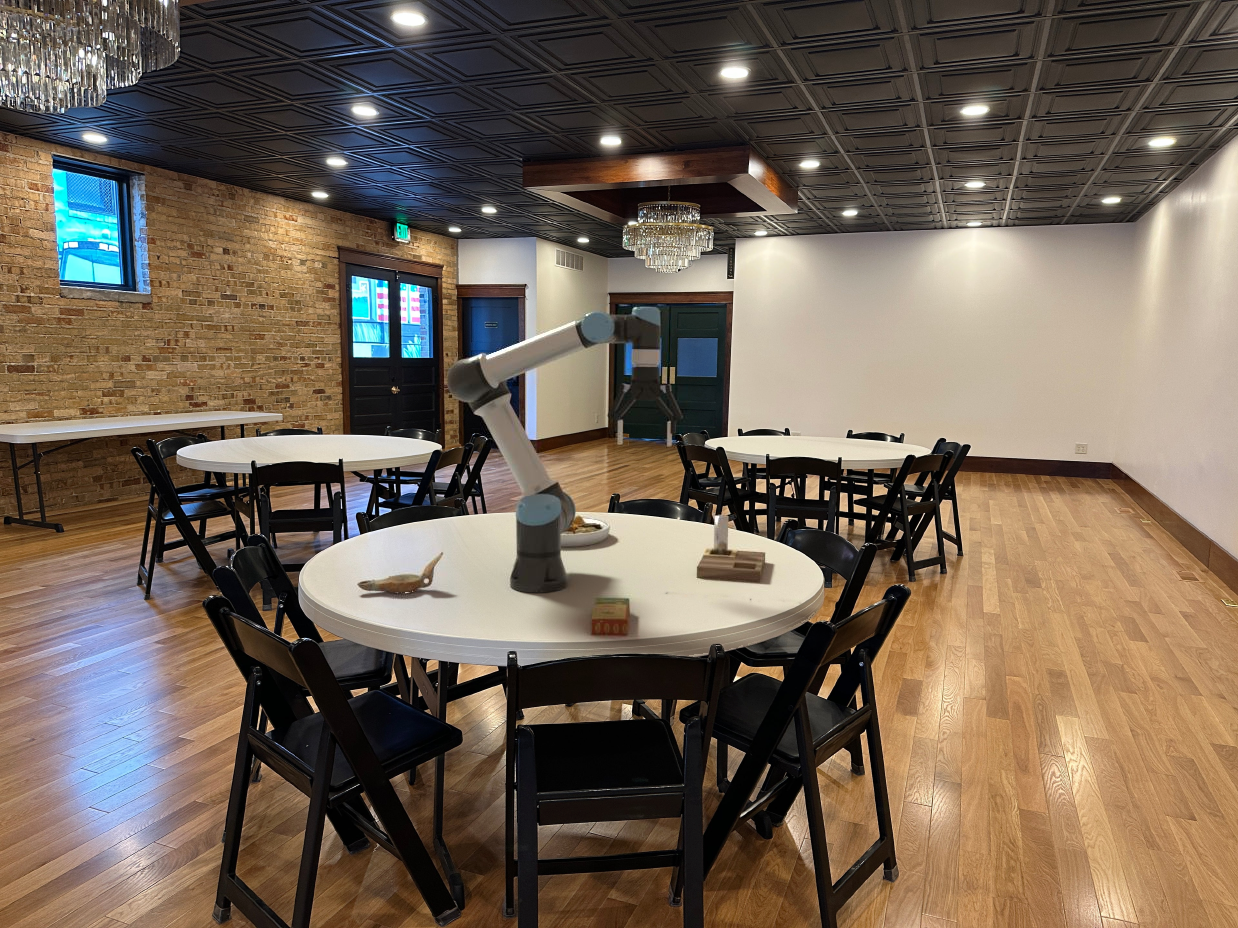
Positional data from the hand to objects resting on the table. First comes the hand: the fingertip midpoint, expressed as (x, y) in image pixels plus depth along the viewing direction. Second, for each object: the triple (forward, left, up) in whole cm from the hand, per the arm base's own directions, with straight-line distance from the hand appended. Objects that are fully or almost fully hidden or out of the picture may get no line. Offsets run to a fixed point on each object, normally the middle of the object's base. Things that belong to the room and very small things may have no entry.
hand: (644, 445), depth 217 cm
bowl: (+40, +35, -37) cm, 65 cm away
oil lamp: (-30, +57, -37) cm, 74 cm away
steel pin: (+17, -20, -36) cm, 44 cm away
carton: (-40, -1, -37) cm, 55 cm away
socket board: (+11, -24, -37) cm, 45 cm away
